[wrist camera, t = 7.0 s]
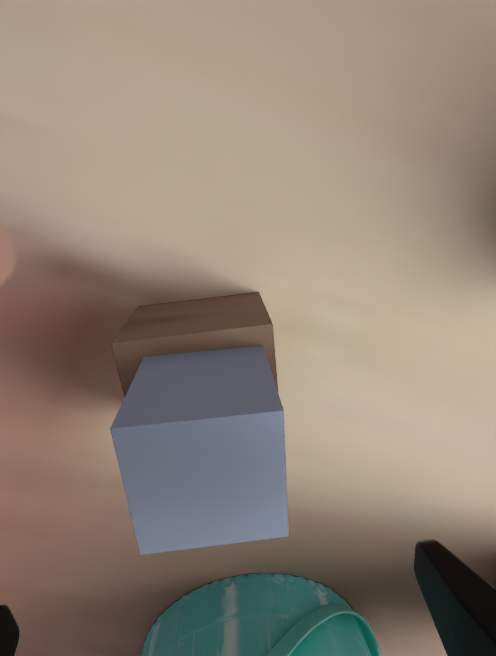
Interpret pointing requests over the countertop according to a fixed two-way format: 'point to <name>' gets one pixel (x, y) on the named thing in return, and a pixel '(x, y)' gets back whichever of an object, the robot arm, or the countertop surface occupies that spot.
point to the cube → (203, 450)
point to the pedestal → (193, 331)
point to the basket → (261, 621)
